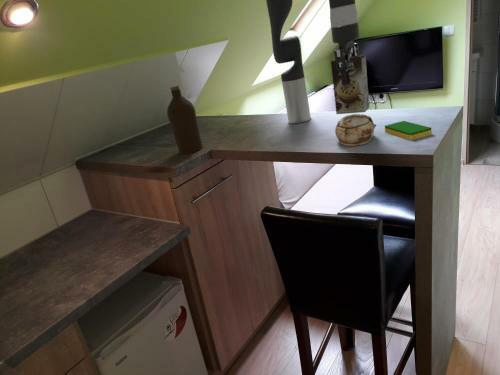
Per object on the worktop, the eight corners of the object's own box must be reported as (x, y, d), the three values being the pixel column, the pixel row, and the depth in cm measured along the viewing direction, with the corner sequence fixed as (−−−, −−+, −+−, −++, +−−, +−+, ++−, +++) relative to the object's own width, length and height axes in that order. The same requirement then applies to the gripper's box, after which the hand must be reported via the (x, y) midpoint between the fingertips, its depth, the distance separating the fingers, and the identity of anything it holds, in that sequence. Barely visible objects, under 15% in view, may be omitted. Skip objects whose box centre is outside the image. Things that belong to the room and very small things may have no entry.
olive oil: (205, 150, 150) (188, 84, 141) (178, 156, 149) (159, 90, 140) (203, 144, 160) (188, 82, 151) (177, 150, 159) (160, 88, 150)
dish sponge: (410, 141, 114) (410, 133, 113) (384, 132, 127) (384, 125, 126) (432, 135, 115) (432, 127, 114) (404, 127, 128) (403, 120, 127)
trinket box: (351, 149, 117) (349, 124, 114) (324, 141, 130) (321, 118, 127) (388, 137, 120) (386, 112, 118) (358, 130, 134) (356, 108, 131)
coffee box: (335, 115, 121) (329, 61, 115) (341, 109, 126) (335, 57, 120) (365, 112, 116) (360, 56, 110) (370, 107, 121) (365, 53, 116)
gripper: (340, 23, 119) (346, 79, 125) (322, 28, 109) (329, 88, 115) (365, 18, 115) (370, 76, 121) (348, 23, 104) (354, 86, 110)
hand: (350, 82), depth 118 cm, fingers closed on coffee box, 6 cm apart
